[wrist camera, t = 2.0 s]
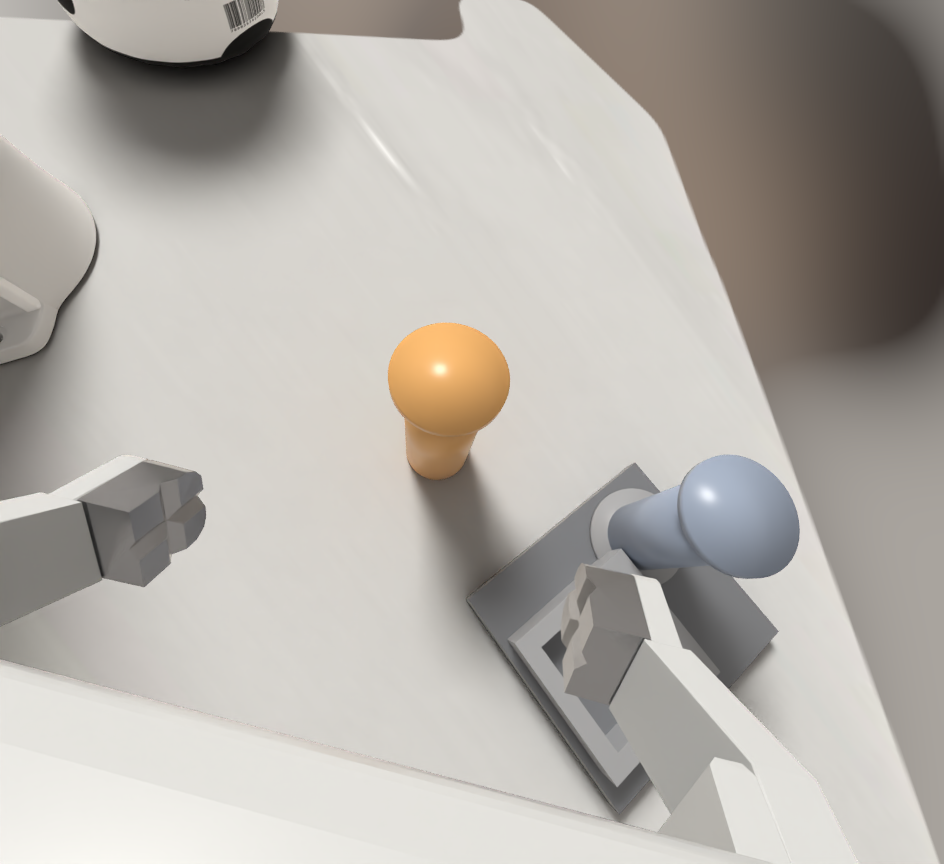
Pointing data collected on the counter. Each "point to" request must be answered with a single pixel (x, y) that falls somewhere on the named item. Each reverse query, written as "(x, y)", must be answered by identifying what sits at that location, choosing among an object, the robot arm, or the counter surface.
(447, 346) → the pin
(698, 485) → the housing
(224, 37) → the milk container
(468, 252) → the counter surface
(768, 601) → the counter surface
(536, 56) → the counter surface
